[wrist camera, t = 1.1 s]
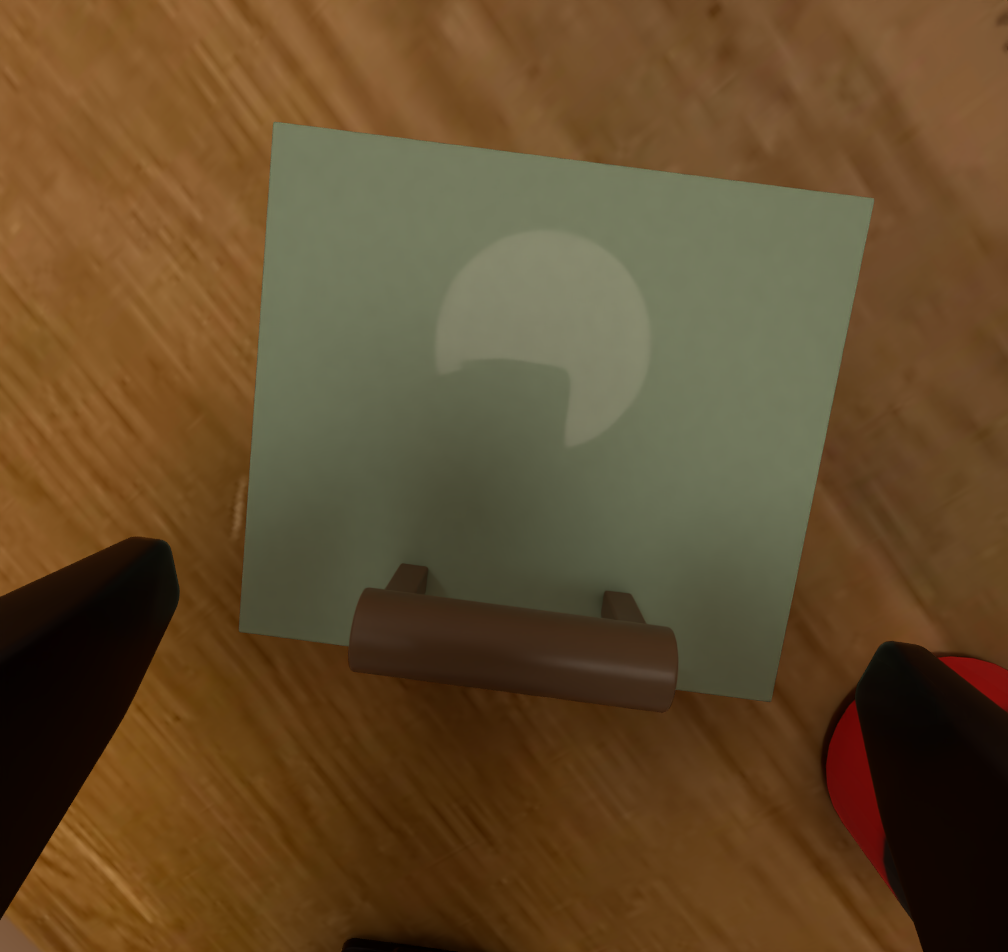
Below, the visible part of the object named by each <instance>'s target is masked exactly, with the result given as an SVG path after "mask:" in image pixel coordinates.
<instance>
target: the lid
mask: <svg viewBox="0 0 1008 952" xmlns="http://www.w3.org/2000/svg"><path fill="white" fill-rule="evenodd" d="M873 204H874V199H873V198H867V197H859V196H851V195H843V194H836V193H828V192H820V191H812V190H804V189H797V188H789V187H781V186H773V185H765V184H757V183H750V182H742V181H734V180H726V179H718V178H711V177H703V176H695V175H687V174H679V173H672V172H664V171H656V170H648V169H640V168H632V167H625V166H617V165H609V164H601V163H593V162H586V161H578V160H570V159H562V158H554V157H546V156H539V155H531V154H523V153H515V152H507V151H500V150H492V149H484V148H476V147H468V146H460V145H453V144H445V143H437V142H429V141H421V140H414V139H406V138H398V137H390V136H382V135H375V134H367V133H359V132H351V131H343V130H335V129H328V128H320V127H312V126H304V125H296V124H289V123H281V122H274V123H273V135H272V150H271V165H270V179H269V194H268V209H267V223H266V238H265V253H264V267H263V282H262V297H261V312H260V326H259V341H258V356H257V370H256V385H255V400H254V414H253V429H252V444H251V458H250V473H249V488H248V502H247V517H246V532H245V546H244V561H243V576H242V590H241V605H240V620H239V632H244V633H252V634H260V635H267V636H275V637H282V638H290V639H297V640H305V641H312V642H320V643H328V644H335V645H343V646H349V650H348V660H349V667H350V669H351V670H352V671H353V672H359V673H367V674H375V675H382V676H390V677H397V678H405V679H412V680H420V681H427V682H435V683H442V684H450V685H458V686H465V687H473V688H480V689H488V690H495V691H503V692H510V693H518V694H525V695H533V696H540V697H548V698H556V699H563V700H571V701H578V702H586V703H593V704H601V705H608V706H616V707H623V708H631V709H639V710H646V711H654V712H661V713H663V712H666V711H667V710H668V709H669V708H670V706H671V704H672V701H673V698H674V695H675V691H676V690H683V691H690V692H698V693H705V694H713V695H720V696H728V697H736V698H743V699H751V700H758V701H766V702H771V699H772V694H773V690H774V685H775V680H776V675H777V670H778V665H779V660H780V656H781V651H782V646H783V641H784V636H785V631H786V626H787V622H788V617H789V612H790V607H791V602H792V597H793V592H794V588H795V583H796V578H797V573H798V568H799V563H800V558H801V554H802V549H803V544H804V539H805V534H806V529H807V524H808V520H809V515H810V510H811V505H812V500H813V495H814V490H815V486H816V481H817V476H818V471H819V466H820V461H821V456H822V452H823V447H824V442H825V437H826V432H827V427H828V422H829V417H830V413H831V408H832V403H833V398H834V393H835V388H836V383H837V379H838V374H839V369H840V364H841V359H842V354H843V349H844V345H845V340H846V335H847V330H848V325H849V320H850V315H851V311H852V306H853V301H854V296H855V291H856V286H857V281H858V277H859V272H860V267H861V262H862V257H863V252H864V247H865V243H866V238H867V233H868V228H869V223H870V218H871V213H872V209H873Z"/></svg>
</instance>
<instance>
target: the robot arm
mask: <svg viewBox="0 0 1008 952" xmlns="http://www.w3.org/2000/svg"><path fill="white" fill-rule="evenodd" d="M179 594H180V590H179V584H178V579H177V574H176V569H175V565H174V560H173V555H172V551H171V548H170V546H169V544H168V543H167V542H166V541H163V540H160V539H153V538H146V537H130V538H128V539H125V540H123V541H121V542H119V543H117V544H114V545H112V546H110V547H108V548H106V549H104V550H101V551H99V552H97V553H95V554H93V555H91V556H88V557H86V558H84V559H82V560H80V561H77V562H75V563H73V564H71V565H69V566H67V567H64V568H62V569H60V570H58V571H56V572H53V573H51V574H49V575H47V576H45V577H43V578H40V579H38V580H36V581H34V582H32V583H30V584H27V585H25V586H23V587H21V588H19V589H16V590H14V591H12V592H10V593H8V594H6V595H3V596H1V597H0V920H1V918H2V916H3V915H4V913H5V911H6V910H7V908H8V907H9V905H10V903H11V902H12V900H13V898H14V897H15V895H16V893H17V892H18V890H19V888H20V887H21V885H22V884H23V882H24V880H25V879H26V877H27V875H28V874H29V872H30V870H31V869H32V867H33V866H34V864H35V862H36V861H37V859H38V857H39V856H40V854H41V852H42V851H43V849H44V848H45V846H46V844H47V843H48V841H49V839H50V838H51V836H52V834H53V833H54V831H55V830H56V828H57V826H58V825H59V823H60V821H61V820H62V818H63V816H64V815H65V813H66V812H67V810H68V808H69V807H70V805H71V803H72V802H73V800H74V798H75V797H76V795H77V794H78V792H79V790H80V789H81V787H82V785H83V784H84V782H85V780H86V779H87V777H88V776H89V774H90V772H91V771H92V769H93V767H94V766H95V764H96V762H97V761H98V759H99V758H100V756H101V754H102V753H103V751H104V749H105V748H106V746H107V744H108V743H109V741H110V740H111V738H112V736H113V735H114V733H115V731H116V730H117V728H118V726H119V724H120V723H121V721H122V719H123V717H124V716H125V714H126V712H127V710H128V708H129V706H130V704H131V702H132V700H133V698H134V696H135V694H136V692H137V690H138V688H139V686H140V684H141V682H142V679H143V677H144V675H145V673H146V671H147V669H148V667H149V665H150V663H151V660H152V658H153V656H154V654H155V652H156V650H157V648H158V646H159V644H160V641H161V639H162V637H163V635H164V633H165V631H166V629H167V627H168V625H169V623H170V620H171V618H172V616H173V614H174V612H175V610H176V607H177V605H178V601H179ZM855 702H856V708H857V713H858V718H859V722H860V727H861V732H862V736H863V741H864V745H865V750H866V755H867V759H868V764H869V769H870V773H871V778H872V783H873V787H874V792H875V797H876V801H877V806H878V810H879V814H880V818H881V822H882V825H883V829H884V832H885V835H886V839H887V842H888V845H889V848H890V851H891V854H892V857H893V861H894V864H895V867H896V870H897V873H898V876H899V879H900V882H901V885H902V888H903V891H904V894H905V897H906V900H907V903H908V906H909V910H910V913H911V916H912V919H913V922H914V925H915V928H916V931H917V934H918V937H919V940H920V943H921V946H922V949H923V952H1008V713H1007V712H1006V711H1005V710H1003V709H1002V708H1001V707H1000V706H998V705H997V704H996V703H994V702H993V701H992V700H991V699H989V698H988V697H987V696H986V695H984V694H983V693H982V692H980V691H979V690H978V689H977V688H975V687H974V686H973V685H971V684H970V683H969V682H968V681H966V680H965V679H964V678H962V677H961V676H960V675H959V674H957V673H956V672H955V671H954V670H952V669H951V668H950V667H948V666H947V665H946V664H945V663H943V662H942V661H941V660H939V659H938V658H937V657H936V656H934V655H933V654H932V653H931V652H929V651H928V650H927V649H925V648H924V647H922V646H919V645H915V644H909V643H902V642H894V641H888V642H885V643H883V644H882V645H880V646H879V648H878V649H877V651H876V653H875V654H874V656H873V658H872V660H871V661H870V663H869V665H868V667H867V668H866V670H865V672H864V674H863V675H862V677H861V679H860V681H859V682H858V685H857V688H856V693H855ZM341 952H456V951H449V950H441V949H434V948H426V947H419V946H412V945H404V944H397V943H389V942H382V941H374V940H367V939H360V938H352V939H349V940H347V941H346V942H345V943H344V945H343V947H342V951H341Z"/></svg>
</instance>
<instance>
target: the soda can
mask: <svg viewBox="0 0 1008 952" xmlns="http://www.w3.org/2000/svg"><path fill="white" fill-rule="evenodd" d="M938 659H939V660H941V661H942V662H943V663H945V664H946V665H947V666H948V667H950V668H951V669H952V670H954V671H955V672H956V673H957V674H959V675H960V676H961V677H962V678H964V679H965V680H966V681H968V682H969V683H970V684H971V685H973V686H974V687H975V688H977V689H978V690H979V691H980V692H982V693H983V694H984V695H986V696H987V697H988V698H989V699H991V700H992V701H993V702H994V703H996V704H997V705H998V706H1000V707H1001V708H1002V709H1003V710H1005V711H1006V712H1007V713H1008V670H1006V669H1004V668H1002V667H1000V666H998V665H996V664H993V663H989V662H986V661H982V660H978V659H974V658H965V657H951V656H949V657H940V658H938ZM826 774H827V787H828V790H829V794H830V797H831V801H832V804H833V806H834V808H835V810H836V812H837V814H838V816H839V817H840V819H841V821H842V823H843V824H844V826H845V827H846V828H847V830H848V831H849V833H850V834H851V835H852V837H853V838H854V840H855V841H856V842H857V844H858V845H859V847H860V848H861V849H862V851H863V852H864V854H865V855H866V856H867V858H868V859H869V860H870V862H871V863H872V865H873V866H874V867H875V869H876V870H877V872H878V873H879V874H880V876H881V877H882V879H883V880H884V881H885V883H886V884H887V886H888V887H889V888H890V890H891V891H892V893H893V894H894V895H895V897H896V898H897V900H898V901H899V902H900V904H901V905H902V907H903V908H904V909H905V911H906V912H907V914H908V915H909V916H910V918H911V919H912V916H911V913H910V910H909V906H908V903H907V900H906V897H905V894H904V891H903V888H902V885H901V882H900V879H899V876H898V873H897V870H896V867H895V864H894V861H893V857H892V854H891V851H890V848H889V845H888V842H887V839H886V835H885V832H884V829H883V825H882V822H881V818H880V814H879V810H878V806H877V801H876V797H875V792H874V787H873V783H872V778H871V773H870V769H869V764H868V759H867V755H866V750H865V745H864V741H863V736H862V732H861V727H860V722H859V718H858V713H857V708H856V702H855V700H854V701H853V702H852V703H851V704H850V705H849V707H848V708H847V710H846V711H845V713H844V714H843V716H842V718H841V719H840V721H839V722H838V724H837V726H836V729H835V731H834V734H833V736H832V739H831V742H830V744H829V750H828V756H827V762H826ZM912 921H913V919H912Z"/></svg>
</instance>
